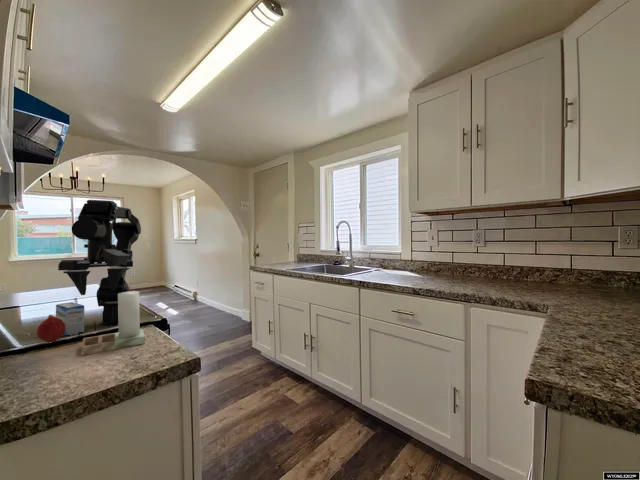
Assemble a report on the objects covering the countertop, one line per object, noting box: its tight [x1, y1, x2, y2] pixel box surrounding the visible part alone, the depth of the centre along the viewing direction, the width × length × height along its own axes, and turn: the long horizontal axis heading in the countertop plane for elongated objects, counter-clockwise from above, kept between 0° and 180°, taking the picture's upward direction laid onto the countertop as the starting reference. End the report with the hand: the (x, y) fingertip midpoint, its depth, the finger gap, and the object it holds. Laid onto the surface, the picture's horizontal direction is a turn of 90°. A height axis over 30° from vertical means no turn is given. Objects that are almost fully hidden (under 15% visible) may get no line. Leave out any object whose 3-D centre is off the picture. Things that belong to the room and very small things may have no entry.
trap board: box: [80, 327, 146, 356], centre depth 76 cm, size 14×8×2 cm, turn 128°
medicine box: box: [55, 301, 85, 336], centre depth 85 cm, size 8×4×9 cm, turn 62°
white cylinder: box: [117, 290, 141, 338], centre depth 78 cm, size 5×5×12 cm
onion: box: [36, 314, 66, 344], centre depth 77 cm, size 6×6×8 cm
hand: (98, 292), depth 82 cm, fingers open, 9 cm apart
